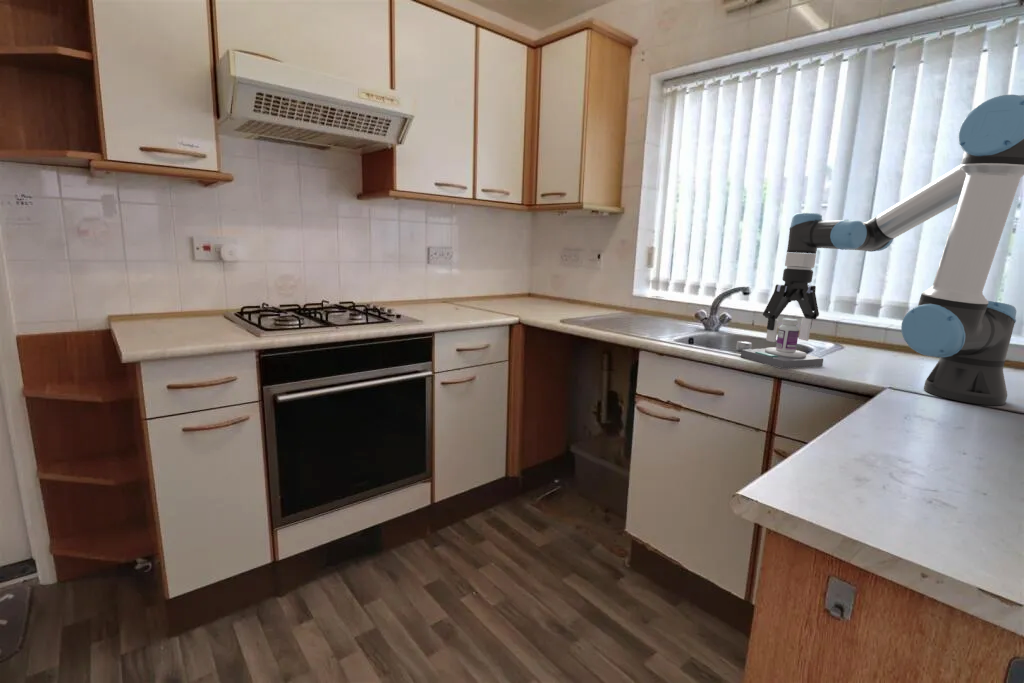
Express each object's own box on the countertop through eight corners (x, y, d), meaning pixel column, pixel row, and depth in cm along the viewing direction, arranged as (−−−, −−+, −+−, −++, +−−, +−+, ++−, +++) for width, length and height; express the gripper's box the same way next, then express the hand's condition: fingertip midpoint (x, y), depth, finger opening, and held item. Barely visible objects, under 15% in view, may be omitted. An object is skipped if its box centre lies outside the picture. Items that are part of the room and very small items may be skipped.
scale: (778, 354, 165) (779, 345, 164) (822, 366, 151) (823, 356, 151) (740, 356, 159) (741, 347, 158) (782, 368, 145) (784, 358, 145)
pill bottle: (796, 351, 156) (801, 319, 154) (794, 354, 151) (800, 321, 150) (776, 348, 159) (781, 317, 157) (774, 351, 154) (779, 318, 152)
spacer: (743, 349, 171) (744, 340, 170) (753, 352, 167) (755, 343, 166) (732, 350, 169) (734, 341, 168) (743, 353, 165) (744, 344, 164)
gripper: (816, 268, 159) (805, 337, 163) (756, 266, 149) (746, 339, 153) (840, 270, 152) (827, 341, 156) (778, 268, 142) (767, 344, 146)
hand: (787, 340), depth 154 cm, fingers open, 13 cm apart
